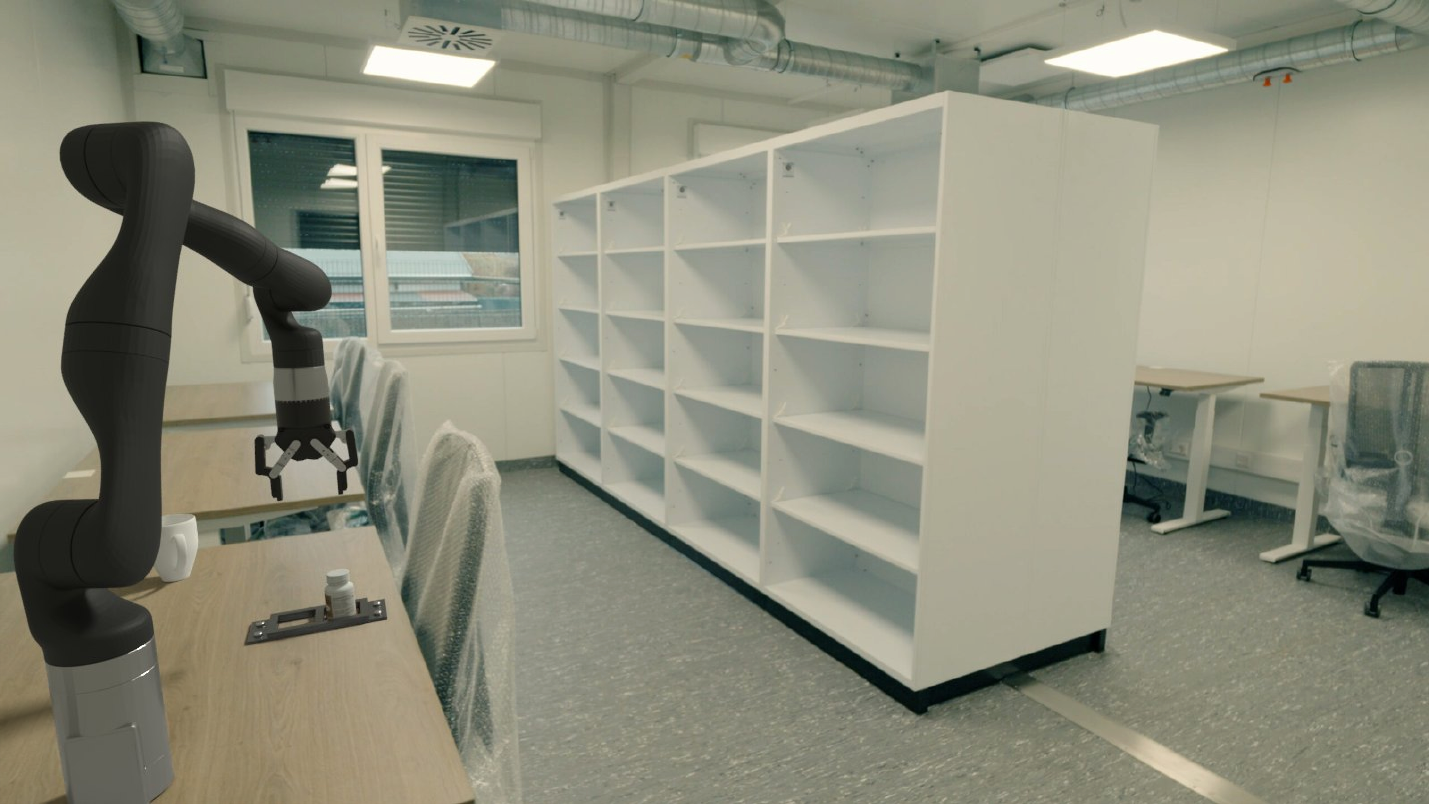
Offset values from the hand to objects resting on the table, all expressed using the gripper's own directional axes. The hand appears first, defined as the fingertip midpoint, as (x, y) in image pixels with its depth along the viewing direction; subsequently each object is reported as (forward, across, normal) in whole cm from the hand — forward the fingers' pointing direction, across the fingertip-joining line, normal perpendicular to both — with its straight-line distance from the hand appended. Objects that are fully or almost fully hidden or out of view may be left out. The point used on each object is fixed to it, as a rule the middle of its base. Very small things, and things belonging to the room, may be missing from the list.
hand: (311, 496), depth 121 cm
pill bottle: (+22, +3, +2) cm, 22 cm away
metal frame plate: (+22, 0, +2) cm, 22 cm away
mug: (+21, -25, +34) cm, 47 cm away
